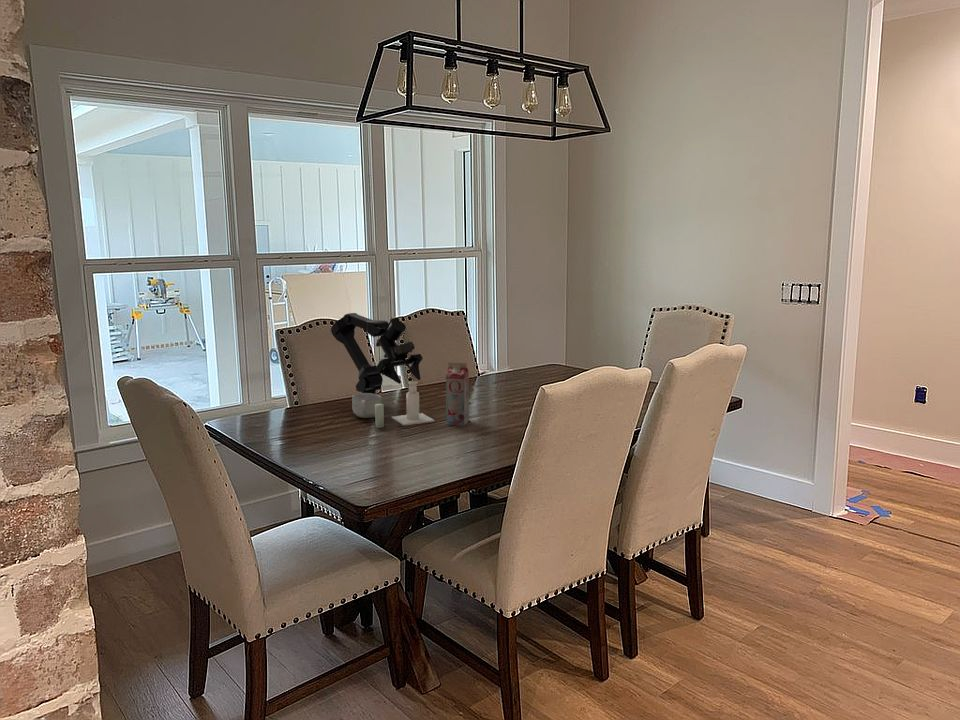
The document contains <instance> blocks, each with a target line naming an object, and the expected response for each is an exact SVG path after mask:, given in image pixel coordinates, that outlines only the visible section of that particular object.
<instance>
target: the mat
mask: <svg viewBox="0 0 960 720" xmlns="http://www.w3.org/2000/svg"><path fill="white" fill-rule="evenodd" d="M391 419H392V420H394V421H396V422H397V423H399V424H400V425H402V426H412V425H413V426H414V425H418V424H419V425H421V424H427V423H435V419H433V418H431V417H430V416H428V415H426V414H424V413H423V412H421V413H420V412H419V419H417V420H409V419H407V414H404V415H403V414H402V415H393V416H391Z"/></svg>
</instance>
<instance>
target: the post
mask: <svg viewBox="0 0 960 720" xmlns="http://www.w3.org/2000/svg"><path fill="white" fill-rule="evenodd" d="M384 407H385V405H384V403H381V404H375V417H374V418H375V419H374V420H375V428H376V429H377V428H379V429H381V428H384V427H385V416H384V415H385V414H384V413H385V412H384Z"/></svg>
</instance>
